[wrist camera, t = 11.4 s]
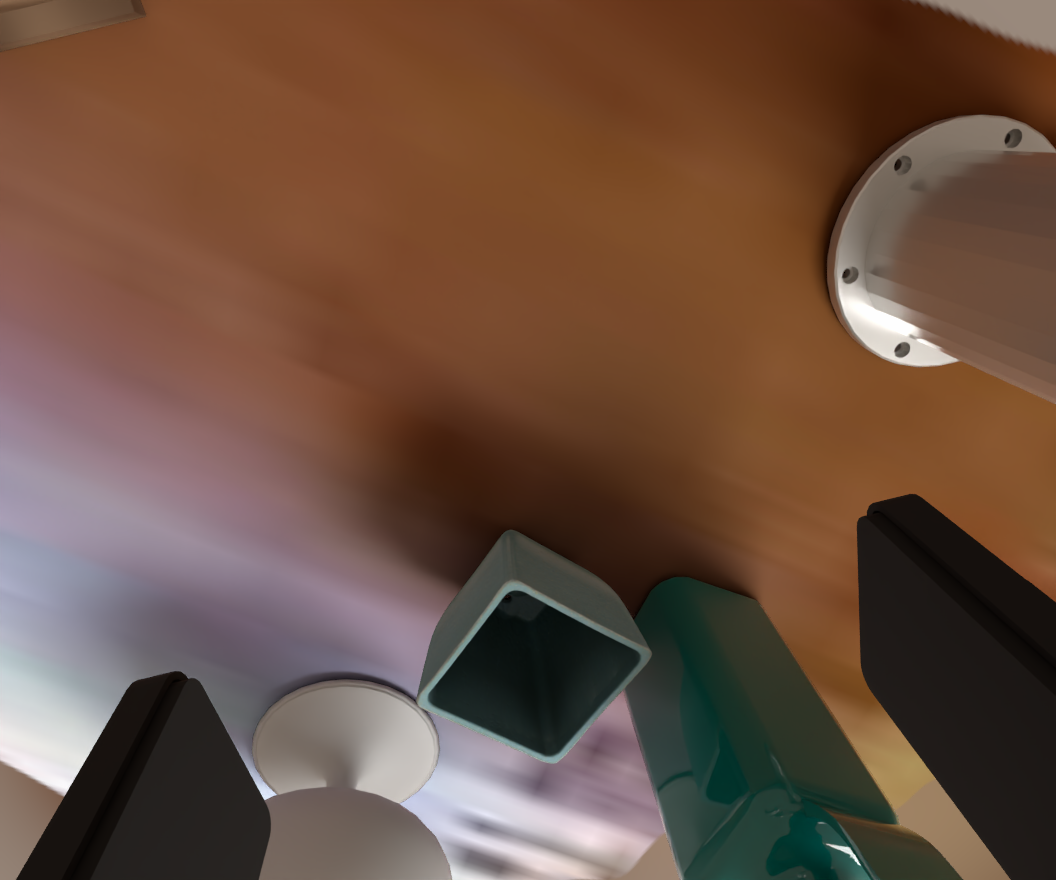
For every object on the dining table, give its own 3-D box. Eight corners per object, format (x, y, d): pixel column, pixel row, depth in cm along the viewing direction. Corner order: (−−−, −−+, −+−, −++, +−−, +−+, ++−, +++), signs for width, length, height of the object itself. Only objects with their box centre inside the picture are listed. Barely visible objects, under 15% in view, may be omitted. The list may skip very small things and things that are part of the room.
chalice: (450, 816, 51) (449, 1069, 37) (248, 823, 49) (169, 1090, 36) (456, 662, 45) (458, 892, 32) (229, 664, 44) (127, 908, 30)
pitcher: (710, 698, 49) (891, 1097, 29) (601, 666, 47) (713, 1071, 27) (785, 586, 45) (1048, 948, 25) (671, 546, 43) (859, 906, 23)
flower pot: (419, 597, 43) (411, 707, 35) (498, 487, 41) (510, 578, 32) (537, 654, 46) (555, 768, 38) (618, 554, 43) (657, 653, 35)
